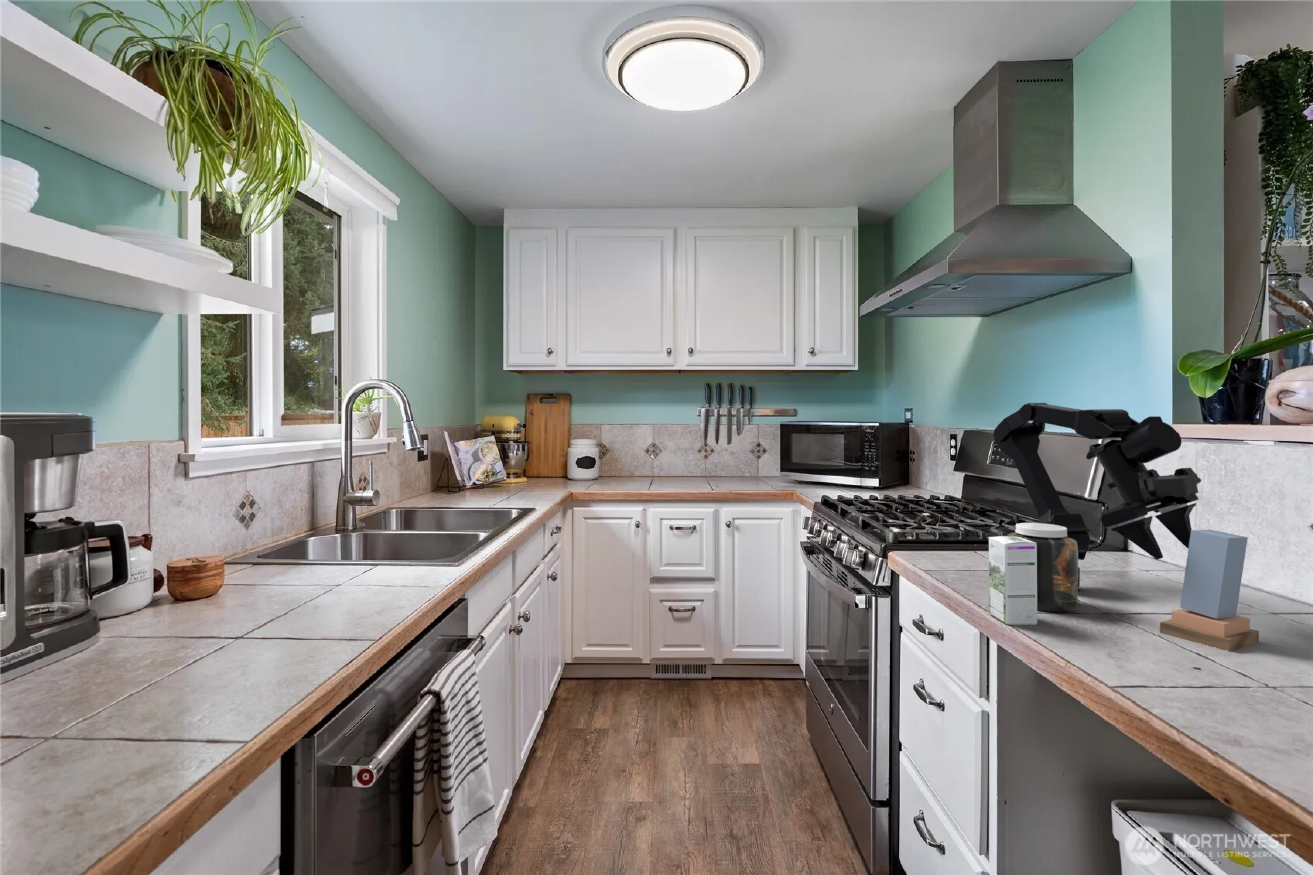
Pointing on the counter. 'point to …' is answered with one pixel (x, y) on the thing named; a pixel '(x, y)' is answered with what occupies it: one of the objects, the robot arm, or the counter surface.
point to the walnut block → (1210, 636)
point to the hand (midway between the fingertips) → (1176, 553)
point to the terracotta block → (1211, 623)
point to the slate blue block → (1213, 573)
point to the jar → (1053, 565)
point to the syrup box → (1013, 580)
